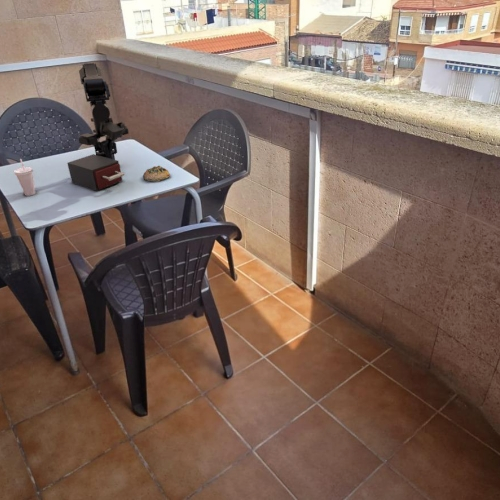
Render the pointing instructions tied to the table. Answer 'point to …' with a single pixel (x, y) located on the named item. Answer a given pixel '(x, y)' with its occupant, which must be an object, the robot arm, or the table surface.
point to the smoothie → (26, 179)
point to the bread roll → (156, 174)
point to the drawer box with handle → (88, 170)
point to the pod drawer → (108, 175)
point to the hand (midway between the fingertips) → (108, 157)
